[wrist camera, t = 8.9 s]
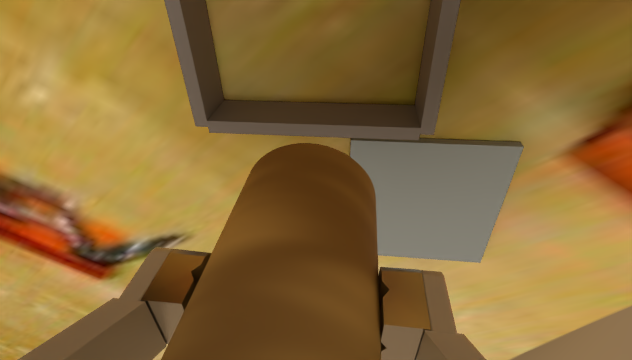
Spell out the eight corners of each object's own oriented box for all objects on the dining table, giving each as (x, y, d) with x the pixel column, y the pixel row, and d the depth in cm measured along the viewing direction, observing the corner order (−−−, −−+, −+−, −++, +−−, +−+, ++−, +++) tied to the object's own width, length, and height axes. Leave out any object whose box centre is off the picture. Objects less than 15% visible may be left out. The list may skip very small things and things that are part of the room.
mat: (520, 141, 29) (523, 146, 28) (478, 256, 37) (480, 262, 36) (351, 135, 30) (351, 140, 30) (346, 247, 39) (346, 252, 38)
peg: (382, 147, 10) (408, 513, 4) (370, 249, 13) (373, 572, 6) (238, 139, 11) (44, 456, 4) (254, 240, 13) (148, 533, 7)
